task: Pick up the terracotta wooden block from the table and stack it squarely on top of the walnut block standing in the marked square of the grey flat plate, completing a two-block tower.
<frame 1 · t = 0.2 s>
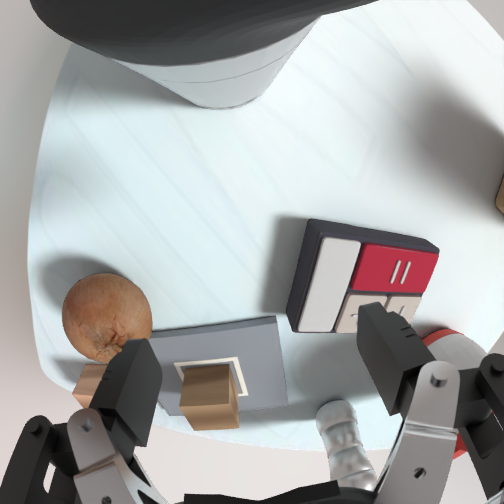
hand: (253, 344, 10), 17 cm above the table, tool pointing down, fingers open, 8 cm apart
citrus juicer: (431, 354, 37), on the table
plastic bottle: (332, 406, 39), on the table
grey flat plate: (213, 373, 34), on the table
terracotta block: (109, 377, 35), on the table
calculator: (359, 274, 30), on the table
walnut block: (212, 380, 33), point 1 cm above the table, touching grey flat plate
onion: (120, 295, 29), on the table
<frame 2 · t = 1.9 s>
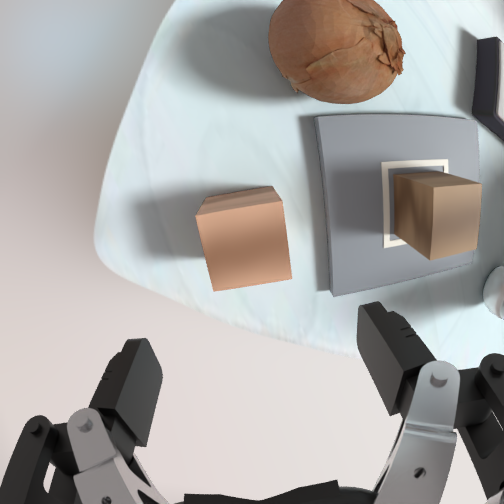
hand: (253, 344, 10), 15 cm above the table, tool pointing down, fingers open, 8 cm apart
plastic bottle: (491, 282, 28), on the table
grey flat plate: (411, 199, 24), on the table
terracotta block: (244, 222, 24), on the table
walnut block: (418, 202, 23), point 1 cm above the table, touching grey flat plate
onion: (319, 58, 19), on the table
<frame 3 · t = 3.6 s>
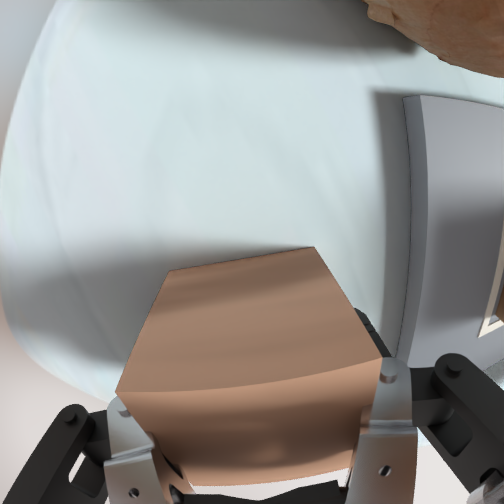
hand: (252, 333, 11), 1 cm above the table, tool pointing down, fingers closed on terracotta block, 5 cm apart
terracotta block: (252, 319, 11), on the table, touching gripper
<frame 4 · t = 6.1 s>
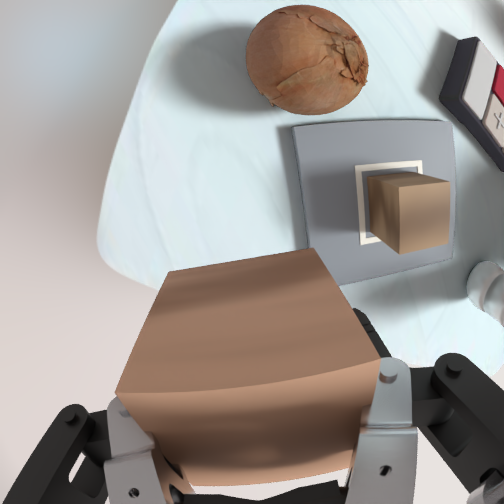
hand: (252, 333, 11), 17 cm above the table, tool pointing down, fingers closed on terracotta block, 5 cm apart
plastic bottle: (475, 277, 31), on the table
grey flat plate: (387, 198, 26), on the table
terracotta block: (252, 320, 12), point 16 cm above the table, touching gripper
calculator: (483, 106, 23), on the table
walnut block: (392, 201, 25), point 1 cm above the table, touching grey flat plate
onion: (296, 72, 22), on the table
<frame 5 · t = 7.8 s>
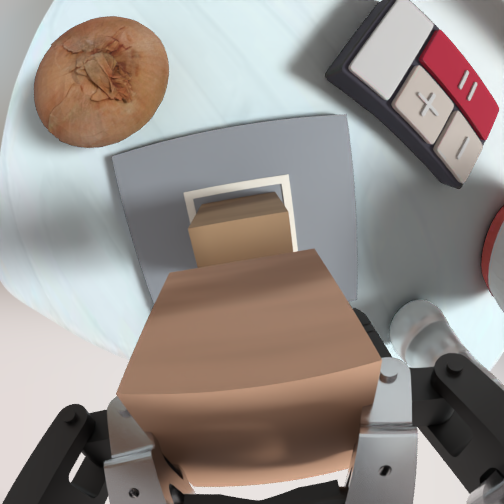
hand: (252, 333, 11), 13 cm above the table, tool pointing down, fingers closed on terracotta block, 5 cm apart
plastic bottle: (407, 317, 28), on the table
grey flat plate: (244, 227, 23), on the table
terracotta block: (252, 321, 12), point 12 cm above the table, touching gripper
calculator: (416, 90, 19), on the table
walnut block: (244, 232, 22), point 1 cm above the table, touching grey flat plate
onion: (124, 89, 18), on the table
when the fingers open (10 cm above the table, at t = 8.9 s): terracotta block drops 2 cm, resting on walnut block.
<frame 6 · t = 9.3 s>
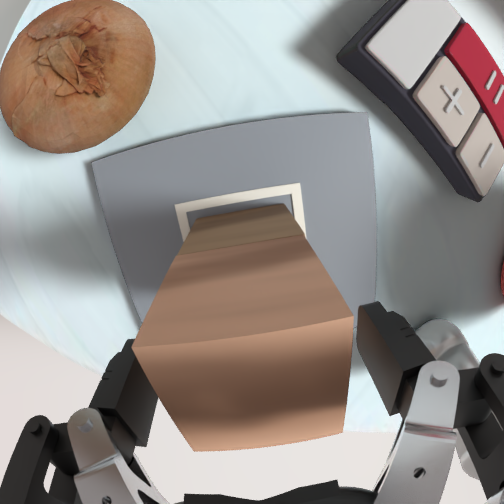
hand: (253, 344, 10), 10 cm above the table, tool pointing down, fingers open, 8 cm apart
plastic bottle: (423, 336, 24), on the table
grey flat plate: (246, 245, 20), on the table
terracotta block: (249, 300, 13), point 7 cm above the table, touching walnut block
calculator: (437, 87, 16), on the table
walnut block: (247, 251, 19), point 1 cm above the table, touching grey flat plate, terracotta block
onion: (106, 84, 15), on the table
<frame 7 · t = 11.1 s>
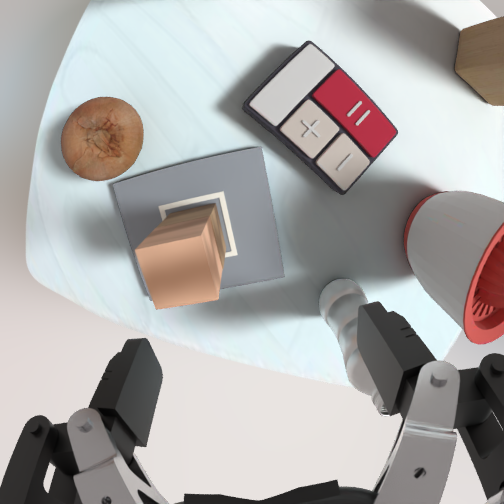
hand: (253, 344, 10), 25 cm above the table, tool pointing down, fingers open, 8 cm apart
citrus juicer: (436, 232, 36), on the table
plastic bottle: (337, 294, 38), on the table
grey flat plate: (199, 227, 34), on the table
terracotta block: (188, 248, 27), point 7 cm above the table, touching walnut block
calculator: (319, 118, 30), on the table
wooden block: (475, 67, 26), on the table
walnut block: (198, 230, 33), point 1 cm above the table, touching grey flat plate, terracotta block
onion: (118, 138, 30), on the table
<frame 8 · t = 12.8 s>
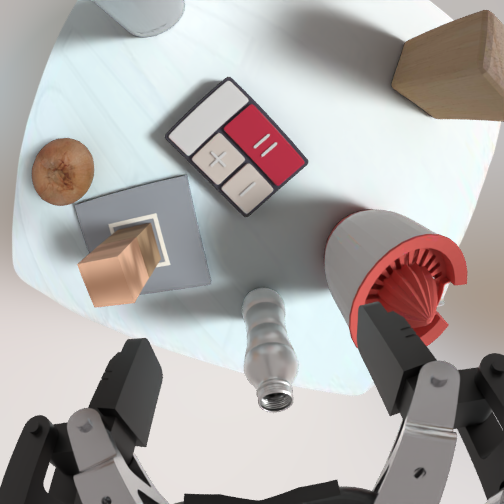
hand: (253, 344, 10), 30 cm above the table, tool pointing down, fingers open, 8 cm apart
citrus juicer: (364, 247, 42), on the table
plastic bottle: (262, 300, 45), on the table
grey flat plate: (141, 241, 40), on the table
terracotta block: (123, 261, 33), point 7 cm above the table, touching walnut block
calculator: (237, 146, 36), on the table
wooden block: (420, 80, 32), on the table
walnut block: (138, 244, 39), point 1 cm above the table, touching grey flat plate, terracotta block
onion: (78, 167, 35), on the table
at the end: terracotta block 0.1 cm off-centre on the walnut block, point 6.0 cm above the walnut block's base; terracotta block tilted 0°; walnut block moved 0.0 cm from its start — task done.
